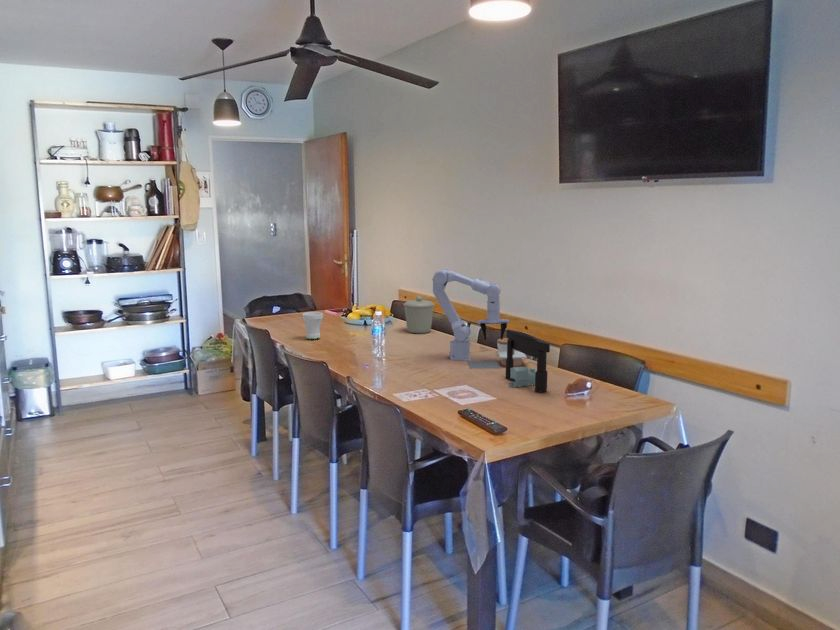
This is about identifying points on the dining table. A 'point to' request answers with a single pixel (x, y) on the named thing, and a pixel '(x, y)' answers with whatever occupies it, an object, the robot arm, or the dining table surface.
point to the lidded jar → (502, 344)
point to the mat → (483, 364)
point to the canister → (419, 315)
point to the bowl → (516, 362)
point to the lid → (515, 354)
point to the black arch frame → (531, 348)
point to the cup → (312, 324)
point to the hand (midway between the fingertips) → (493, 339)
